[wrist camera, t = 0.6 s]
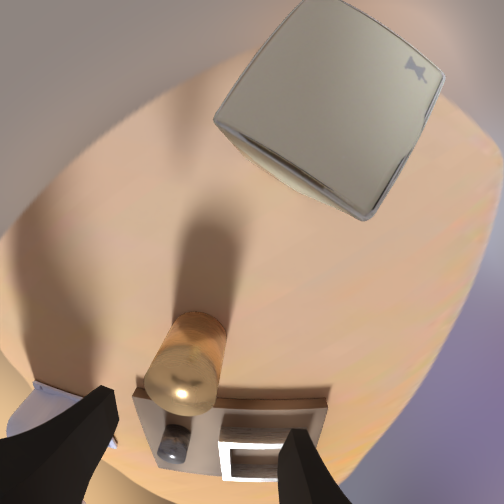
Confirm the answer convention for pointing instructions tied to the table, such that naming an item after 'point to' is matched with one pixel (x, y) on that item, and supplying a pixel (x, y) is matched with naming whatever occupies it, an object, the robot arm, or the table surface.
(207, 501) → the table surface
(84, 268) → the table surface
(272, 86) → the box
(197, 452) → the fitting board
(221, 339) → the cylinder
